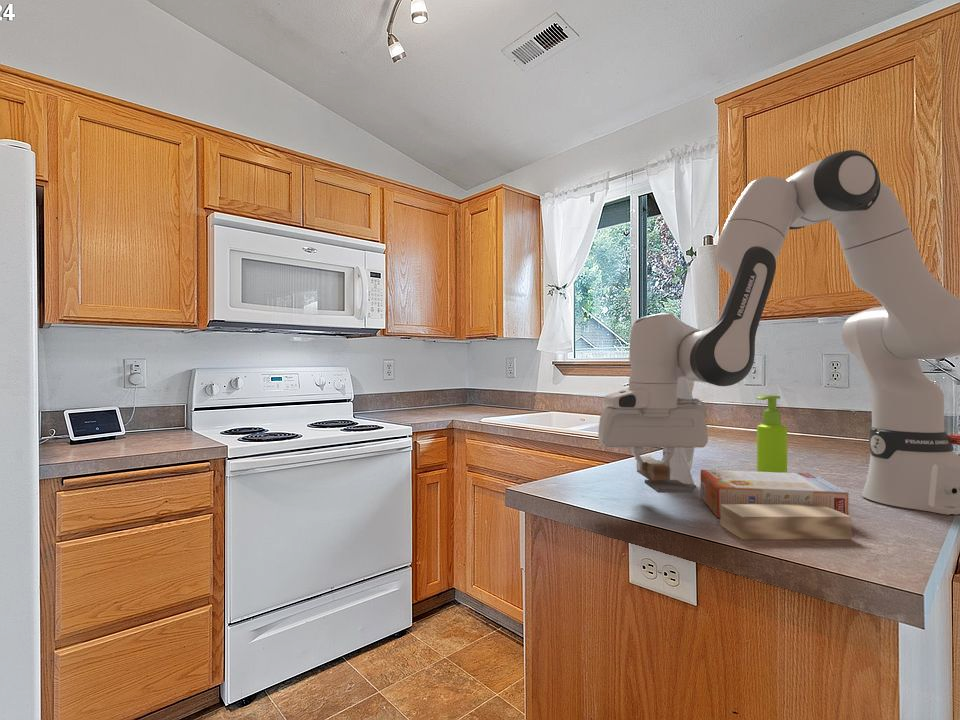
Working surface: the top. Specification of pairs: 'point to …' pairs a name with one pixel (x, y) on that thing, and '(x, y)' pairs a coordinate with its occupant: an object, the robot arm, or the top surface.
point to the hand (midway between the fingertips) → (652, 470)
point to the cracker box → (769, 489)
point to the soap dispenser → (771, 439)
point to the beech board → (785, 521)
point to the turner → (662, 478)
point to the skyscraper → (682, 455)
